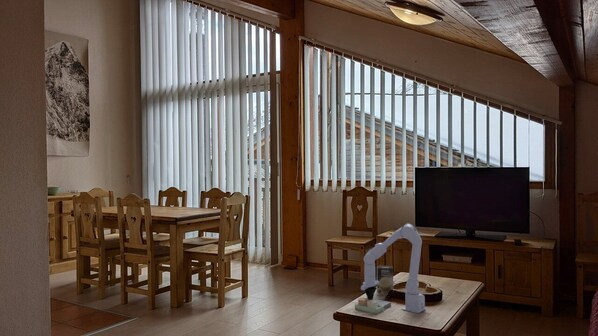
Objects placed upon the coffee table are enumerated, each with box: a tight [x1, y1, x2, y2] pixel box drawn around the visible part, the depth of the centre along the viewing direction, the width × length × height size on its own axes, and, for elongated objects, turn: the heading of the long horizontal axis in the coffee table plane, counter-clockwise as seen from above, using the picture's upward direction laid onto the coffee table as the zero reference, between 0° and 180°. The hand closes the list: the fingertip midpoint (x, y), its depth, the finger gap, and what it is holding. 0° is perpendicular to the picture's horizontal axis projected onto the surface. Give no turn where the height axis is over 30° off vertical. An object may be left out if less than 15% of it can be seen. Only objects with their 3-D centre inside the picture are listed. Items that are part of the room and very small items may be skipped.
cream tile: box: [367, 300, 378, 309], centre depth 260 cm, size 4×4×3 cm
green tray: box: [354, 303, 385, 315], centre depth 262 cm, size 13×8×2 cm, turn 49°
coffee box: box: [376, 265, 394, 297], centre depth 288 cm, size 9×6×16 cm
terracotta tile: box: [357, 296, 369, 307], centre depth 263 cm, size 4×4×3 cm
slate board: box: [373, 298, 392, 310], centre depth 268 cm, size 12×8×2 cm
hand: (370, 300), depth 267 cm, fingers closed
